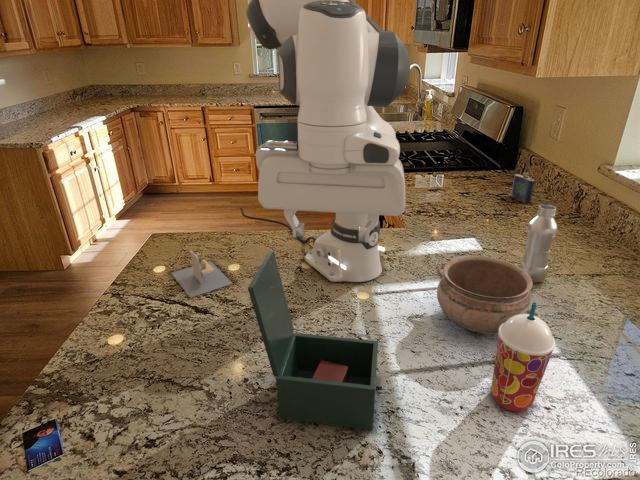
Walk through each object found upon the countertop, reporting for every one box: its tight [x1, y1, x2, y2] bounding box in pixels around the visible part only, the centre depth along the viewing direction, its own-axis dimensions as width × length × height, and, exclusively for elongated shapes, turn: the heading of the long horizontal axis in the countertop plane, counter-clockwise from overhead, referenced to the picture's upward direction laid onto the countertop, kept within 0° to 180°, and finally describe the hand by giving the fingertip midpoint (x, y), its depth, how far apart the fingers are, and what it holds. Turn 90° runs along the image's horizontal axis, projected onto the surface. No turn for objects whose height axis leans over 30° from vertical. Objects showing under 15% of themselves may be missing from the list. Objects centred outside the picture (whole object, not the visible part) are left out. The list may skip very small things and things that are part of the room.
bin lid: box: [247, 250, 295, 377], centre depth 69 cm, size 16×12×1 cm
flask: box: [509, 172, 535, 205], centre depth 160 cm, size 9×3×11 cm, turn 21°
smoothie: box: [490, 301, 556, 413], centre depth 70 cm, size 8×8×20 cm
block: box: [312, 360, 348, 383], centre depth 73 cm, size 5×5×5 cm
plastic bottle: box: [518, 204, 558, 283], centre depth 106 cm, size 6×7×20 cm
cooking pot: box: [436, 255, 542, 335], centre depth 91 cm, size 25×19×12 cm
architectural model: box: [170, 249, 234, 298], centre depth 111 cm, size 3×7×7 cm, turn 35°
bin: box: [275, 332, 379, 431], centre depth 73 cm, size 16×12×9 cm
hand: (330, 238), depth 61 cm, fingers open, 8 cm apart
